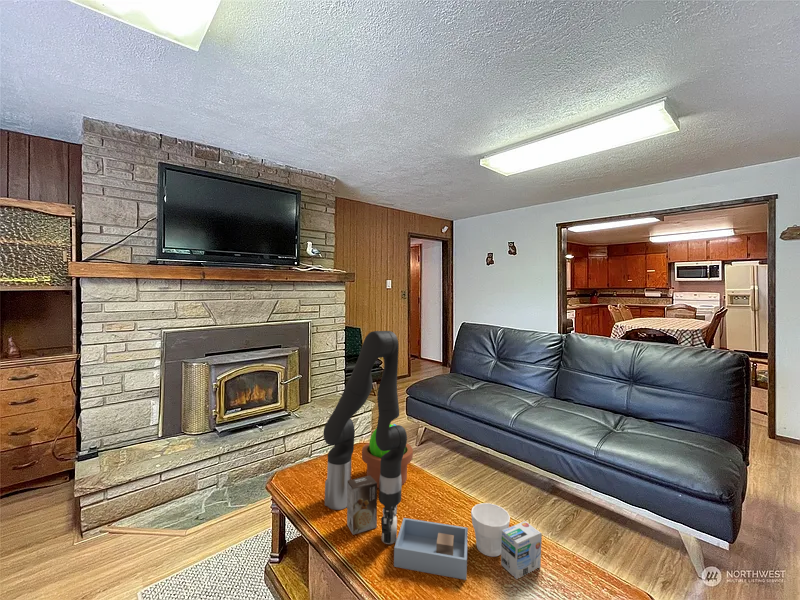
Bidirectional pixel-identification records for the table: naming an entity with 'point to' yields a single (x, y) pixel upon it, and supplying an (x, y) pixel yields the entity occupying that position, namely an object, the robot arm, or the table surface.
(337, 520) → the table surface
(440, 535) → the cube
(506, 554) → the light bulb box
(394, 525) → the white rounded cylinder
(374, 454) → the potted cactus
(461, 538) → the tote
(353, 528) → the coffee box
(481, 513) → the cup
